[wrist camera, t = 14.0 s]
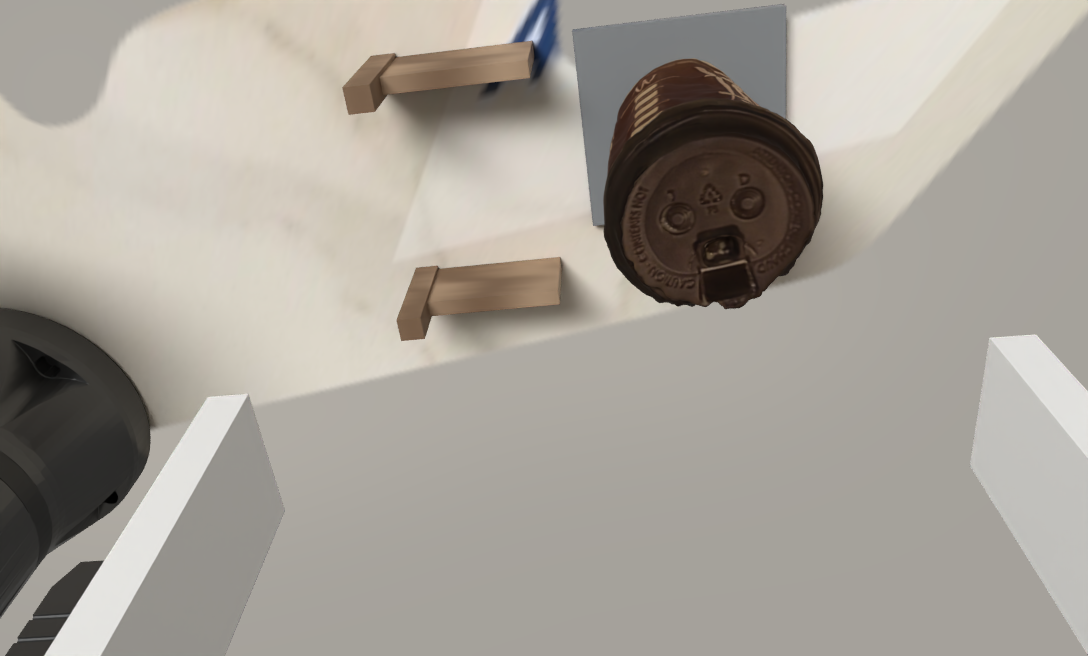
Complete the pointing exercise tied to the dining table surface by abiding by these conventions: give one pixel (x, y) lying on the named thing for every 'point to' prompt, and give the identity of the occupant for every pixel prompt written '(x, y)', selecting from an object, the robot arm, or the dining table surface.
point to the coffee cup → (706, 189)
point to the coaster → (639, 47)
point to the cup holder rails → (470, 283)
